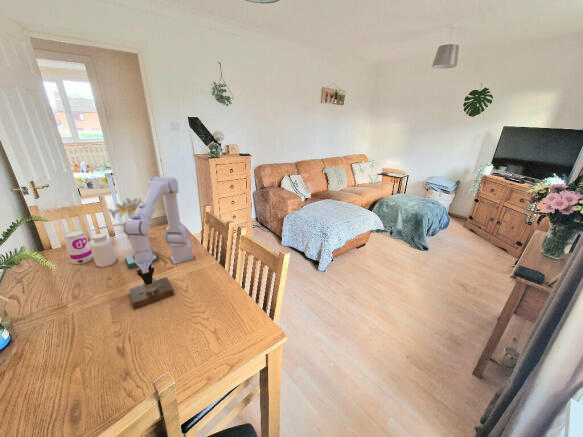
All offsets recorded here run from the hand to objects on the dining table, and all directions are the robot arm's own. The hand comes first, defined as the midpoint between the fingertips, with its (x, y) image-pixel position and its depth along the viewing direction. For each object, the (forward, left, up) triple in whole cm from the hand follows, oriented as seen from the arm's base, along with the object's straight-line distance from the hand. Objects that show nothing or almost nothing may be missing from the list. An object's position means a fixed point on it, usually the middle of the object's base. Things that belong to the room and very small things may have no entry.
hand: (148, 278), depth 95 cm
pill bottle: (+13, -38, -8) cm, 41 cm away
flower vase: (-2, -55, -8) cm, 55 cm away
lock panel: (0, 0, -8) cm, 8 cm away
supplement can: (+22, -47, -8) cm, 52 cm away
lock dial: (0, 0, -5) cm, 5 cm away
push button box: (-1, -31, -8) cm, 32 cm away
